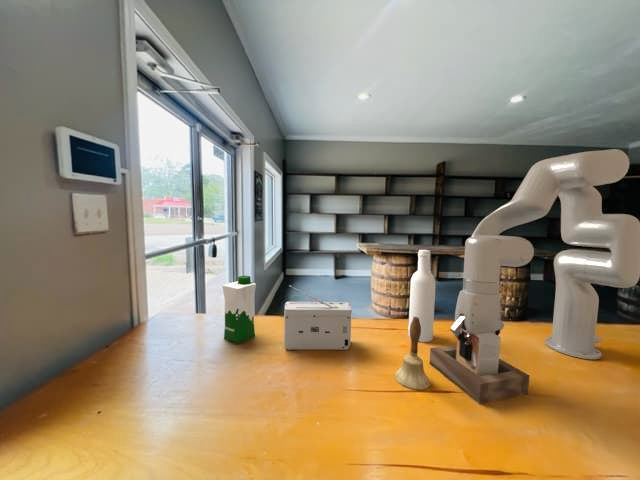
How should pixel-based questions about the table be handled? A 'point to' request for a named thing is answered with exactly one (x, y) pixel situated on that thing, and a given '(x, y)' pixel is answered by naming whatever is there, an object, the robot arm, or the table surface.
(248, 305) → the milk carton
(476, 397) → the well block
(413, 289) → the bottle
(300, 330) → the stereo radio cassette player
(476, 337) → the small box
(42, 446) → the table surface
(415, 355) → the hand bell
